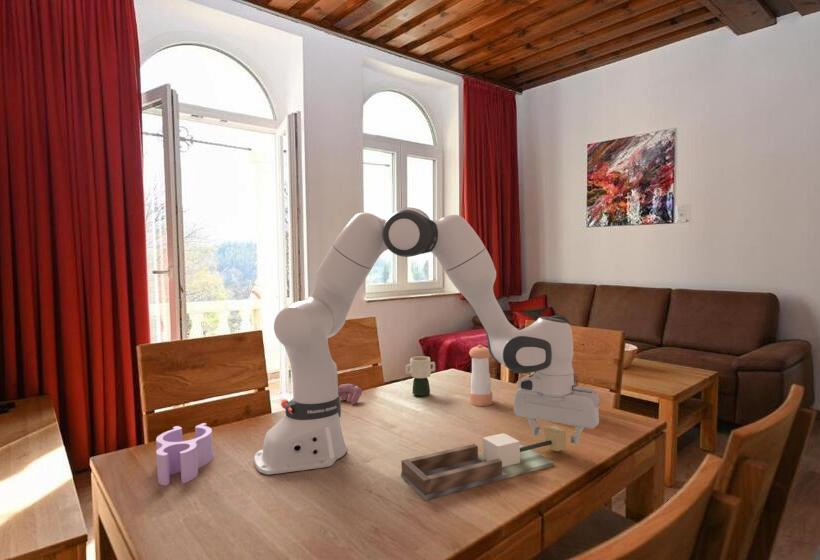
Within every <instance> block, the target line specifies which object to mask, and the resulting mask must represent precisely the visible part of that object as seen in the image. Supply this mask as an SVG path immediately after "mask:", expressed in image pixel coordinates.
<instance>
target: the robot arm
mask: <svg viewBox="0 0 820 560" xmlns="http://www.w3.org/2000/svg"><path fill="white" fill-rule="evenodd" d="M386 250H387V251H388V250H389V251H390V252H391V253H392V254H394V255H396V256H399V257H402V258H409V257H414V256H419V255H423V254H427V253H431V254H433V255H434V256H435V257H436V259H437V260H438V262H439V263H440V265H441V266H442V268H443V270H444V272H445V275H447V277H448V278H449V280H450V282H451V283H452V284H453V286H454V287H455V288H456V289H457V290H458V292H459V293H460V294H461V295H462V296H463V297H464V298H465V300H466V301H468V303H469V304H470V306H471V307H472V309H473V311H474V312H475V314H476V316H477V318H478V320H479V322H480V324H481V325H482V327H483V329H484V331H485V333H486V339H487V348H488V349H489V352H490V354H491V355H490V357H491V358H492V359H494V361H496V362H497V363H499V364H501V365H503V366H504V367H505V368H506V369H508V370H509V371H511V372H513V373H515V374H521V375H525V374H527V375H525V376H523V377H521V378H519V379H518V380H517V381H516V388H517V390H516V391H515V393H514V398H513V412H514V414H515V415H516V416H518V417H522V418H527V423H528V424H529V426H530V428H531V429H532V436H533V437H540V436H541V435H542V433H541V427H538V426H537V423H536V420H540V421H546V422H552V423H557V424H562V425H569V426H572V427H573V426H574V430H575V431H577V432H576V433H572V434H571V435H570V444H575V445H578V444H579V441H580V434H581V433H582V432H583V431H584V429H590V430H593V429H595V428H596V427H597V426H598V425H599V423H600V413H599V405H600V395H599V392H598V391H596V390H593V388H592V387H583V386H579V385H578V386H574V371H575V370H574V371H573V369H574V367H573V363H572V362H573V361H572V360H573V358H574V340H573V339H574V338H573V337H574V336H573V331H572V327H571V325H569V324H570V323H569V324H568V323H567V322H566V321H564V320H561V319H557V318H552V317H551V316H540V317H538V318H537V319H536V320H535V321H534V322H532V323H531V324H530V325H528V326H526V327H524V328H522V329H518V328H517V327H516V326H514V325H513V324H512V323H510V321H509V320H508V318H507V317H506V315H505V312H504V311H503V309H502V307H501V306H500V304H499V302H498V300H497V298H496V296H495V293H494V284H495V282H496V278H497V270H496V268H495V265H494V262H493V259H492V257H491V255H490V253H489V251H488V250H487V248H486V246H485V245H484V243H483V241H482V240H481V238H480V237H479V235H478V233H476V231H475V230H474V228H473V227H472V225H470V223H469V222H468V221H467V220H466V219H465V218H464V217H463V216H462V215H459V214H449V215H446V216H443V217H441V218H439V219H437V220H433V219H430V217H429V215H427V213H426V212H425V211H423V210H421V209H419V208H416V207H415V208H414V207H402V208H400V209H397V210H396V211H394V212H392V213H391V214H390V215H388V216H387V217H386V218H381V217H379V216H377V215H375V214H373V213H369V212H360V213H357V214H355V215H354V216H353V217H352V218H351V219H350V220H349V221H348V223H347V224H346V225H345V226H344V227H343V229H342V230H341V231H340V233H338V235H337V237H336V238H335V240H334V241H333V243H332V245H331V246H330V248H329V250H328V251H327V253H326V254H325V257H324V258H323V260H322V261H321V263H320V265H319V267H318V268H317V270H316V279H315V282H314V285H313V289H312V292H311V293H310V295H309V296H308V297H306V298H305V299H304V300H298V301H294V302H292V303H290V304H289V305H287V306H286V307H284V308H283V309H282V310H280V311H279V312H278V314H276V317H275V318H274V323H273V331H274V335H275V336H276V338H277V340H278V341H279V342H280V344H282V345H283V347H284V349H285V351H286V353H287V358H288V361H289V365H290V368H291V369H290V370H291V376H292V377H291V379H292V396H293V397H292V399H291V400H290V401H289V400H288V399H286V398H285V399H282V400H281V402H280V406H281V407H282V408H283V409H284V412H285V416H283V417H282V418H281V419H280V420H279V421H277V423H275V425H274V426H273V427H271V428H269V430H267V432H266V434H265V436H264V440H263V446H262V449H259V450H258V451H257V452H255V454H254V458H253V464H254V466H255V469H256V470H257V471H258V472H260V473H261V474H264V475H268V476H269V475H275V474H276V475H277V474H278V475H279V474H285V473H291V472H300V471H305V470H307V471H308V470H314V469H321V468H322V469H323V468H328V467H332V466H333V465H334V464H335V462H336V461H337V460H338V459H340V458H342V457H344V456H345V455H346V453H347V451H348V448H347V446H346V443H345V440H344V435H343V431H342V423H341V418H342V417H341V413H342V405H341V404H342V403H341V402H342V401H341V396H339V395H338V387H339V385H338V384H339V383H338V381H339V380H338V366H337V363H336V362H335V360H333V357H332V355H331V352H330V347H329V341H328V339H329V338H332V337H334V336H335V335H336V334H338V333H339V332H340V330H342V328H343V327H344V325H345V323H346V319H347V316H348V314H349V312H350V308H351V306H352V304H353V301H354V298H356V297H355V296H356V295H357V293H358V291H359V290H360V288H361V286H362V285H363V284H364V282H365V280H366V279H367V277H368V276H369V274H370V272H371V270H372V269H373V267H374V266H375V264H376V262H377V260H378V259H379V258H380V256H381V255H382V254H383V253H384V252H386ZM535 371H536V374H532V375H528V373H530V372H535Z"/></svg>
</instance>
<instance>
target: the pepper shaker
mask: <svg viewBox="0 0 820 560" xmlns="http://www.w3.org/2000/svg"><path fill="white" fill-rule="evenodd" d="M468 353H469V357H470V358H471V375H470V376H471V377H470V392H469V403H470V404H471V405H473V406H478V407H484V406H491V405H492V404H493V392H492V380H491V374H490V366H489V365H490V364H489V363H490V359H489V358H490V357H491V354H490V352H489V349H488V347H486V346H483V345H482V344H478V345H477V346H474V347H472V348H471V349H470V350H469V352H468Z"/></svg>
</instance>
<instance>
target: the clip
mask: <svg viewBox="0 0 820 560" xmlns="http://www.w3.org/2000/svg"><path fill="white" fill-rule="evenodd" d="M194 430H195V431H194V432H195V438H192V439H188V440H183V427H181V426H179V425H176V426H173V427H172V429H170V430H167V431H164V432H162V433H161V434H159V435H157V436H156V439H155V442H156V443H155V444H156V451H155V453H156V471H157V483H158V484H159V483H160V484H159V485H161V484H162V485H161V486H168V485H170V484H171V483H170V482H171V481H170V478H171V477H170V476H171V475H174V474H177V473H180V477H181V478H180V479H181V484H186V483H188V482H190V481H192V480H194V479H195V478H197V477H198V474H199V469H200V468H201V467H203V466H206V465H208V464H209V463H211V461H212V460H213V459H214V448H213V446H214V445H213V429H212V428H211V427H209V426H207V423H206V422H203V423H200V424H197V425H196V426H195V427H194ZM169 483H170V484H169Z"/></svg>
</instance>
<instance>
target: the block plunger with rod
mask: <svg viewBox="0 0 820 560" xmlns="http://www.w3.org/2000/svg"><path fill="white" fill-rule="evenodd" d="M566 435H567V432H566V430H564V429H562V428H560V427H558V426H555V425H552V426H548V427H544V441H541V442H536V443H533V444H529V445H528V444H527V445H523V446H524V447H520V444H521V443H520V442H521V441H520V440H518V439H517V438H514V437H512V436H511V435H509V434H507V433H505V432H503V433H499V434H493V435H488V436H485V437H482V453H483V459H484V460H486V461H490V460H494V459H499V460H501V461H502V467H506V466H510V465H514V464H518V463H520V452H523V451H527V450H534V449H539V448H541V447H547V448H549V449H550V450H553V451H555V452H559V451H563V450H566V447H567V444H566V442H567V441H566V439H567V437H566Z"/></svg>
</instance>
